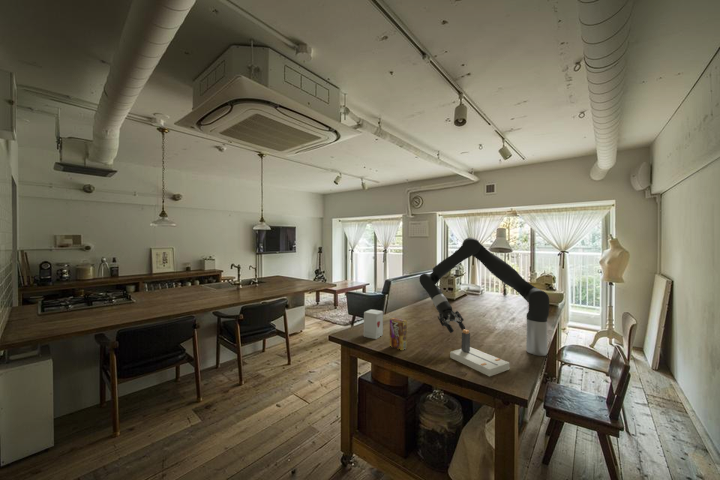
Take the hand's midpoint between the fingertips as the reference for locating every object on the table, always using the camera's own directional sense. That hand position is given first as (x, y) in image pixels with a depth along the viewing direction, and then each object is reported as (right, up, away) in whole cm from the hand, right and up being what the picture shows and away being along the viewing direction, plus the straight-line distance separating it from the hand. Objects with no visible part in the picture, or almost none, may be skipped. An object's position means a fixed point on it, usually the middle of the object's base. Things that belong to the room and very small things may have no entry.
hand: (458, 330), depth 145 cm
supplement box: (-43, -12, +26) cm, 51 cm away
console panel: (+6, -12, -11) cm, 17 cm away
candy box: (-30, -12, +8) cm, 33 cm away
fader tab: (+2, -9, -4) cm, 10 cm away
